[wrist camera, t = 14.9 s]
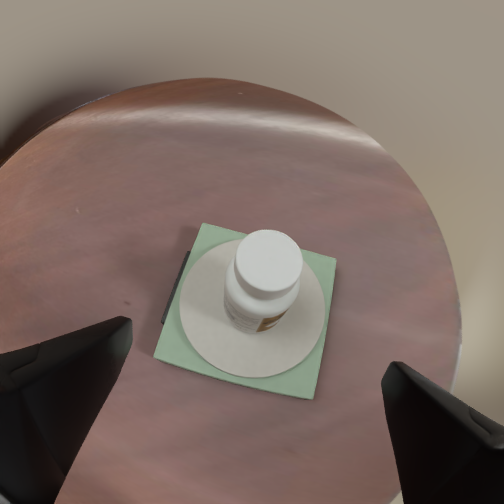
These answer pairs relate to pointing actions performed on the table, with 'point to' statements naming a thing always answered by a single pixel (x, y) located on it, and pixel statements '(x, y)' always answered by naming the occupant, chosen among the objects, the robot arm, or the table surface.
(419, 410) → the robot arm
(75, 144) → the table surface
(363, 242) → the table surface
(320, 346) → the scale
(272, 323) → the pill bottle
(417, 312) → the table surface
